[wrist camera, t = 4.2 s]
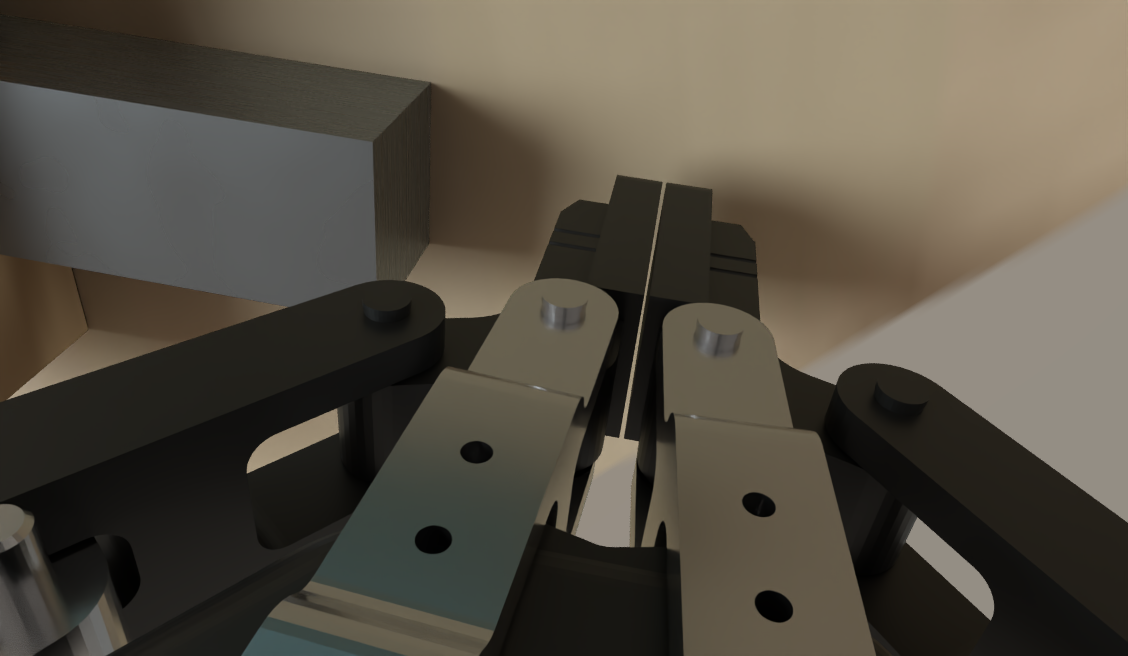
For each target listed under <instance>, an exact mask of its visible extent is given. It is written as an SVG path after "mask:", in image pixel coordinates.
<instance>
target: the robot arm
mask: <svg viewBox="0 0 1128 656" xmlns="http://www.w3.org/2000/svg"><path fill="white" fill-rule="evenodd" d="M661 188H662V182H660V181H653V180H647V179H640V178H634V177H628V176H621V175H617V177H616V181H615V185H614V188H613V192H612V195H611V199H610V202H609V204H604V203H597V202H591V201H585V200H578V201H577V202H575V203H574V204H572V205H570V206H569V207H567V208H566V209H564V210H563V211H561V213H560V215H559V218H558V220H557V223H556V225H555V228H554V231H553V233H552V236H551V238H550V241H549V244H548V246H547V249H546V251H545V254H544V256H543V259H542V261H541V264H540V267H539V269H538V272H537V274H536V277H535V280H534V281H532V282H529V283H527V284H524V285H523V286H521V287H519V288H518V289H517V290H515V291H514V292H513V294H512V295H511V296H510V298H509V300H508V302H507V303H506V305H505V307H504V308H503V310H502V312H501V313H500V314H496V315H492V316H486V317H476V318H445V306H444V303H443V301H442V300H441V298H440V297H439V296H438V295H437V294H436V293H434V292H433V291H431V290H430V289H428V288H426V287H423V286H421V285H418V284H415V283H411V282H406V281H398V280H378V281H371V282H365V283H361V284H358V285H354V286H351V287H348V288H345V289H342V290H339V291H336V292H333V293H330V294H327V295H324V296H321V297H318V298H315V299H312V300H309V301H306V302H303V303H300V304H297V305H294V306H291V307H288V308H285V309H282V310H279V311H276V312H273V313H269V314H266V315H263V316H260V317H257V318H254V319H251V320H248V321H245V322H242V323H239V324H236V325H233V326H230V327H227V328H224V329H221V330H218V331H215V332H212V333H209V334H206V335H203V336H200V337H197V338H194V339H191V340H188V341H184V342H181V343H178V344H175V345H172V346H169V347H166V348H163V349H160V350H157V351H154V352H151V353H148V354H145V355H142V356H139V357H136V358H133V359H130V360H127V361H124V362H121V363H118V364H115V365H112V366H109V367H106V368H103V369H99V370H96V371H93V372H90V373H87V374H84V375H81V376H78V377H75V378H72V379H69V380H66V381H63V382H60V383H57V384H54V385H51V386H48V387H45V388H42V389H39V390H36V391H33V392H30V393H27V394H24V395H21V396H18V397H14V398H11V399H8V400H5V401H2V402H0V656H1128V523H1127V522H1126V521H1125V520H1123V519H1122V518H1120V517H1119V516H1118V515H1116V514H1115V513H1114V512H1112V511H1111V510H1109V509H1108V508H1107V507H1105V506H1104V505H1103V504H1101V503H1100V502H1099V501H1097V500H1096V499H1094V498H1093V497H1092V496H1090V495H1089V494H1087V493H1086V492H1085V491H1083V490H1082V489H1081V488H1079V487H1078V486H1077V485H1075V484H1074V483H1072V482H1071V481H1070V480H1068V479H1067V478H1065V477H1064V476H1063V475H1061V474H1060V473H1059V472H1057V471H1056V470H1055V469H1053V468H1052V467H1050V466H1049V465H1048V464H1046V463H1045V462H1044V461H1042V460H1041V459H1039V458H1038V457H1036V456H1035V455H1034V454H1032V453H1031V452H1030V451H1028V450H1027V449H1026V448H1024V447H1023V446H1022V445H1020V444H1019V443H1017V442H1016V441H1015V440H1013V439H1012V438H1011V437H1009V436H1008V435H1006V434H1005V433H1003V432H1002V431H1001V430H1000V429H998V428H997V427H995V426H994V425H993V424H991V423H990V422H989V421H987V420H986V419H984V418H983V417H982V416H980V415H979V414H978V413H976V412H975V411H973V410H972V409H971V408H969V407H968V406H967V405H965V404H964V403H962V402H961V401H960V400H958V399H957V398H956V397H954V396H953V395H952V394H950V393H949V392H947V391H946V390H945V389H943V388H942V387H941V386H939V385H937V384H936V383H934V382H933V381H931V380H929V379H928V378H926V377H924V376H922V375H920V374H918V373H915V372H913V371H910V370H907V369H904V368H901V367H897V366H892V365H887V364H875V363H869V364H860V365H856V366H853V367H850V368H848V369H847V370H845V371H844V372H843V373H842V374H841V375H840V376H839V379H838V381H837V384H836V385H834V384H831V383H828V382H826V381H823V380H820V379H818V378H815V377H812V376H810V375H807V374H805V373H803V372H800V371H798V370H796V369H794V368H792V367H791V366H789V365H787V364H786V363H784V362H783V361H781V360H780V359H779V358H778V355H777V351H776V346H775V342H774V338H773V336H772V334H771V332H770V331H769V329H768V328H767V327H766V326H765V325H764V324H763V323H762V322H760V311H759V295H758V279H757V264H756V247H755V242H754V241H753V239H752V238H751V237H750V236H749V235H748V233H747V232H746V231H745V230H744V228H743V227H742V226H741V225H737V224H731V223H724V222H718V221H712V220H711V216H712V189H706V188H699V187H693V186H686V185H680V184H673V183H666V188H665V194H664V199H663V205H662V210H661V216H660V222H659V227H658V233H657V239H656V244H655V250H654V255H653V261H652V267H651V272H650V278H649V284H648V290H647V296H646V302H645V308H644V314H643V320H642V327H641V333H640V339H639V346H638V352H637V359H636V365H635V371H634V378H633V384H632V390H631V397H630V403H629V409H628V416H627V422H626V429H625V435H624V439H629V440H635V441H639V445H638V452H637V458H636V464H635V469H634V474H633V479H632V485H631V512H630V547H605V546H599V545H596V544H594V543H591V542H589V541H587V540H584V539H581V538H579V537H577V536H575V534H576V531H577V528H578V525H579V521H580V518H581V515H582V511H583V508H584V505H585V502H586V498H587V495H588V492H589V488H590V485H591V482H592V479H593V473H594V466H595V461H596V460H597V459H598V457H599V456H600V454H601V451H602V448H603V443H604V438H605V435H606V436H612V437H617V438H619V436H620V430H621V424H622V418H623V413H624V407H625V401H626V396H627V390H628V384H629V379H630V373H631V367H632V362H633V356H634V350H635V345H636V339H637V333H638V327H639V322H640V316H641V310H642V305H643V299H644V293H645V287H646V281H647V275H648V268H649V262H650V256H651V250H652V244H653V238H654V231H655V225H656V219H657V213H658V207H659V200H660V194H661ZM336 408H337V412H338V425H339V433H337V434H335V435H333V436H331V437H328V438H326V439H324V440H322V441H319V442H317V443H315V444H313V445H310V446H308V447H306V448H304V449H301V450H299V451H297V452H295V453H292V454H290V455H288V456H286V457H283V458H281V459H279V460H277V461H274V462H272V463H270V464H268V465H265V466H263V467H261V468H259V469H256V470H254V471H252V472H250V473H247V464H248V461H249V459H250V457H251V455H252V453H253V452H254V451H255V449H256V448H257V447H258V446H259V445H260V444H261V443H262V442H264V441H265V440H266V439H268V438H269V437H271V436H273V435H275V434H277V433H279V432H282V431H284V430H287V429H289V428H291V427H294V426H296V425H298V424H301V423H303V422H305V421H308V420H310V419H313V418H315V417H317V416H320V415H322V414H324V413H327V412H329V411H331V410H334V409H336ZM917 517H918V518H919V519H920V520H921V521H923V522H924V523H925V524H926V525H927V526H928V527H929V528H930V529H931V530H933V531H934V532H935V533H936V534H937V535H938V536H939V537H940V538H942V539H943V540H944V541H945V542H946V543H947V544H948V545H949V546H951V547H952V548H953V549H954V550H955V551H956V552H957V553H959V554H960V555H961V556H962V557H963V558H964V559H965V560H967V561H968V562H969V563H970V564H971V565H972V566H973V567H974V568H975V569H976V570H977V571H978V572H979V573H980V574H981V575H982V576H983V578H984V579H985V581H986V582H987V584H988V586H989V588H990V590H991V593H992V596H993V600H994V614H993V617H992V619H991V621H990V620H989V619H988V618H987V617H986V616H985V615H984V614H983V613H982V612H981V611H979V610H978V609H977V608H976V607H975V606H974V605H973V604H972V603H971V602H970V601H969V600H968V599H966V598H965V597H964V596H963V595H962V594H961V593H960V592H959V591H958V590H957V589H956V588H955V587H954V586H952V585H951V584H950V583H949V582H948V581H947V580H946V579H945V578H944V577H943V576H942V575H941V574H940V573H939V572H937V571H936V570H935V569H934V568H933V567H932V566H931V565H930V564H929V563H928V562H927V561H926V560H924V559H923V558H922V557H921V556H920V555H919V554H918V553H917V552H916V551H915V550H914V549H913V548H912V547H910V546H909V545H908V544H907V543H906V539H907V537H908V535H909V533H910V531H911V529H912V527H913V525H914V522H915V521H916V519H917Z"/></svg>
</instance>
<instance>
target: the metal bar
mask: <svg viewBox="0 0 1128 656" xmlns="http://www.w3.org/2000/svg"><path fill="white" fill-rule="evenodd" d="M430 127H431V82H425V81H419V80H413V79H406V78H400V77H394V76H387V75H381V74H375V73H368V72H362V71H356V70H349V69H343V68H337V67H330V66H324V65H318V64H311V63H305V62H299V61H292V60H286V59H280V58H273V57H267V56H261V55H254V54H248V53H242V52H235V51H229V50H223V49H216V48H210V47H204V46H197V45H191V44H185V43H178V42H172V41H166V40H159V39H153V38H147V37H140V36H134V35H128V34H121V33H115V32H109V31H102V30H96V29H90V28H83V27H77V26H71V25H64V24H58V23H52V22H45V21H39V20H33V19H26V18H20V17H14V16H7V15H1V14H0V254H1V255H6V256H12V257H17V258H23V259H28V260H34V261H39V262H45V263H50V264H56V265H61V266H67V267H72V268H78V269H83V270H89V271H94V272H100V273H105V274H111V275H116V276H122V277H127V278H133V279H138V280H144V281H149V282H155V283H160V284H166V285H171V286H177V287H182V288H188V289H193V290H199V291H204V292H210V293H215V294H221V295H226V296H232V297H237V298H243V299H248V300H254V301H259V302H265V303H270V304H276V305H281V306H287V307H291V306H294V305H297V304H300V303H303V302H306V301H309V300H312V299H315V298H318V297H321V296H324V295H327V294H330V293H333V292H336V291H339V290H342V289H345V288H348V287H351V286H354V285H358V284H361V283H365V282H371V281H378V280H398V281H405V280H406V279H407V277H408V275H409V274H410V272H411V271H412V269H413V268H414V266H415V265H416V263H417V261H418V260H419V258H420V257H421V255H422V254H423V252H424V251H425V249H426V247H427V246H428V244H429V202H430Z"/></svg>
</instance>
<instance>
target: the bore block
mask: <svg viewBox="0 0 1128 656" xmlns="http://www.w3.org/2000/svg"><path fill="white" fill-rule="evenodd" d="M86 331H88V327H87V324H86V320H85V316H84V313H83V309H82V305H81V302H80V298H79V294H78V291H77V287H76V283H75V279H74V276H73V272H72V268H71V267H67V266H61V265H56V264H50V263H45V262H39V261H34V260H28V259H23V258H17V257H12V256H6V255H1V254H0V402H2V401H5V400H7V399H8V398H9V397H10V396H12V395H13V394H14V393H15V392H16V391H17V390H19V389H20V388H21V387H22V386H23V385H24V384H26V383H27V382H28V381H29V380H30V379H31V378H33V377H34V376H35V375H36V374H37V373H39V372H40V371H41V370H42V369H43V368H44V367H46V366H47V365H48V364H49V363H50V362H51V361H53V360H54V359H55V358H56V357H57V356H58V355H60V354H61V353H62V352H63V351H64V350H65V349H67V348H68V347H69V346H70V345H71V344H72V343H74V342H75V341H76V340H77V339H78V338H79V337H81V336H82V335H83V334H84V333H85V332H86Z"/></svg>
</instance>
